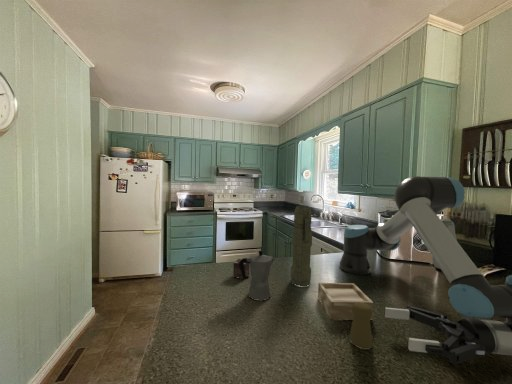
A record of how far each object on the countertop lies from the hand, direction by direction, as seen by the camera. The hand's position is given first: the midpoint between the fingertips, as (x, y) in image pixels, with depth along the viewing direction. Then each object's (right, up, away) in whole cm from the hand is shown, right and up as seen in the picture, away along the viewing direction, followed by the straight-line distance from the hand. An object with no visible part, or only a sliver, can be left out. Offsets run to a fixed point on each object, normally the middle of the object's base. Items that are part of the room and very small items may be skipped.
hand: (395, 326), depth 61 cm
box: (-46, -3, +44) cm, 64 cm away
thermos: (-18, -4, +39) cm, 43 cm away
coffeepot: (-38, -4, +26) cm, 47 cm away
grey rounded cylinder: (+64, -6, +60) cm, 88 cm away
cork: (-9, -6, +2) cm, 11 cm away
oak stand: (-7, -5, +19) cm, 21 cm away
